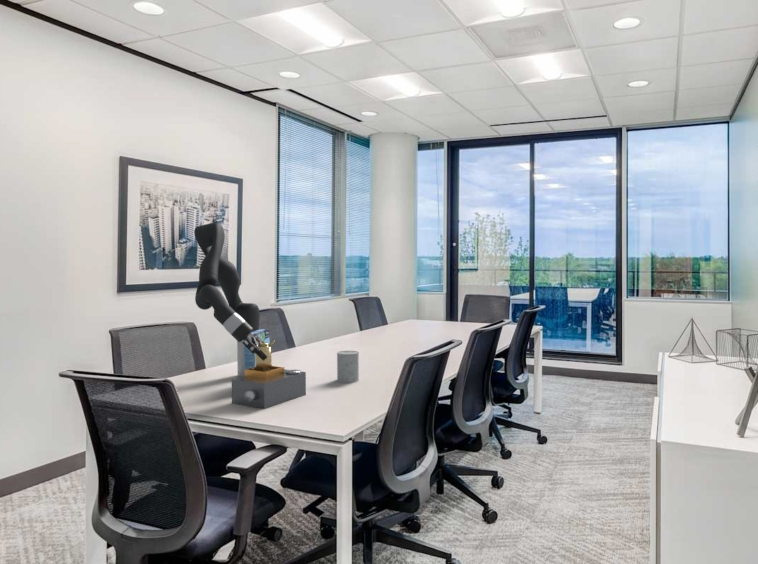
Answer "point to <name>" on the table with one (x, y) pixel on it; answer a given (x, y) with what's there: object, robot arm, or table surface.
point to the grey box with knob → (268, 387)
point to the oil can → (267, 363)
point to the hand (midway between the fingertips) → (267, 356)
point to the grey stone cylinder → (347, 366)
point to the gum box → (248, 355)
